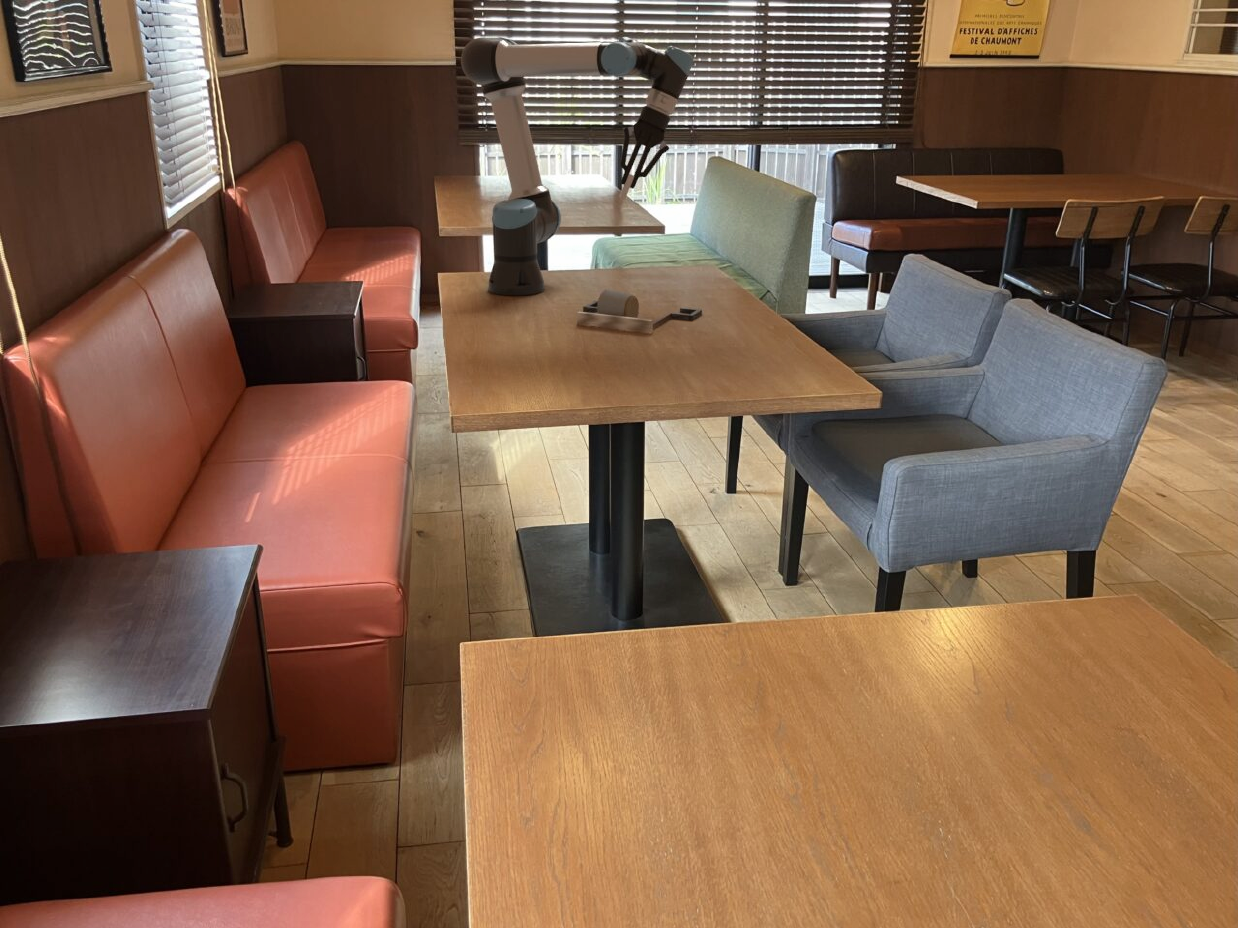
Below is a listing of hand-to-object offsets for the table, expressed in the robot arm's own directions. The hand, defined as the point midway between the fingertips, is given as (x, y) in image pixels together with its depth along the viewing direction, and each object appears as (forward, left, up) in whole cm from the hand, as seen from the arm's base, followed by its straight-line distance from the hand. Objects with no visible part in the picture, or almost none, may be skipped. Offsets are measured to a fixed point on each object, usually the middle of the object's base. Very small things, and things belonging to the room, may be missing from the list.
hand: (621, 198), depth 269 cm
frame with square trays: (+14, -25, -25) cm, 38 cm away
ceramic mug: (+12, -28, -25) cm, 40 cm away
